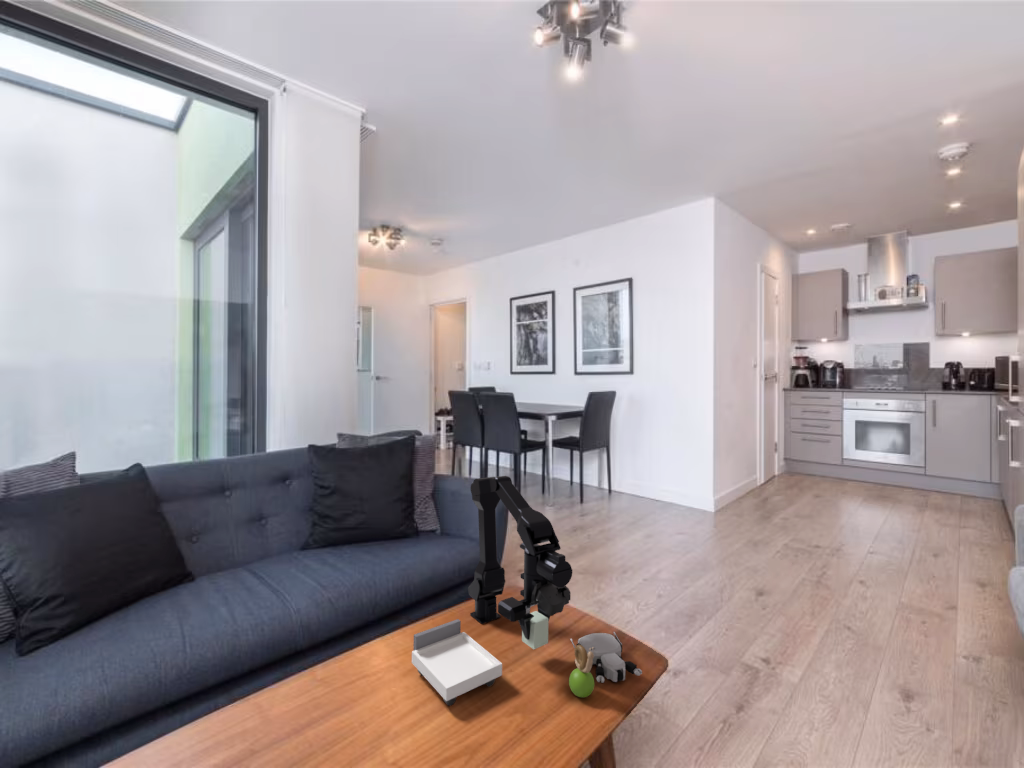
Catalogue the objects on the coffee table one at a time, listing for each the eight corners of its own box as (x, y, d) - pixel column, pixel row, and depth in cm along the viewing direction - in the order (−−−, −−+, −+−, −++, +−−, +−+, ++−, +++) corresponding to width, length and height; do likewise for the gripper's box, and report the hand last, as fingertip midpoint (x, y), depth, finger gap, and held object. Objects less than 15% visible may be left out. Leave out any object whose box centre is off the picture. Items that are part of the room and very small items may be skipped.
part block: (521, 640, 112) (522, 616, 112) (536, 634, 115) (536, 610, 115) (533, 649, 108) (534, 624, 108) (548, 643, 111) (548, 618, 111)
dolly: (409, 670, 107) (409, 636, 107) (461, 649, 116) (461, 617, 116) (446, 713, 94) (446, 673, 93) (501, 686, 102) (502, 649, 102)
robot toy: (645, 685, 104) (612, 644, 119) (646, 666, 104) (613, 627, 118) (596, 695, 101) (568, 651, 115) (597, 676, 100) (569, 634, 115)
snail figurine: (581, 709, 95) (582, 651, 95) (563, 691, 101) (564, 636, 101) (602, 701, 98) (603, 645, 97) (584, 683, 103) (584, 630, 103)
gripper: (527, 594, 99) (526, 666, 100) (587, 573, 111) (586, 637, 111) (496, 576, 108) (496, 642, 108) (555, 558, 120) (554, 618, 120)
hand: (534, 635), depth 112 cm, fingers closed on part block, 4 cm apart
